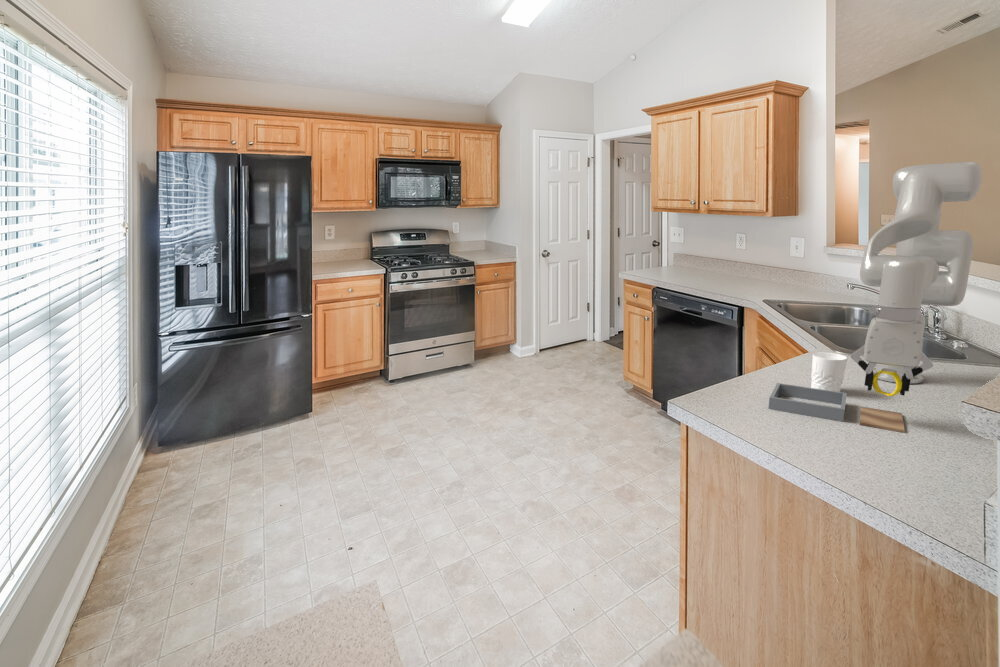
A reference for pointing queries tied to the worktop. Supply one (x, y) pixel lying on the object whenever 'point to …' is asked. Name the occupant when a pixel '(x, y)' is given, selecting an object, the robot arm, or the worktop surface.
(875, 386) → the watch
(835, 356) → the white cup
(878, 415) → the board
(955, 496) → the worktop surface
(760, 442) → the worktop surface
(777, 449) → the worktop surface
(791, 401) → the bin
